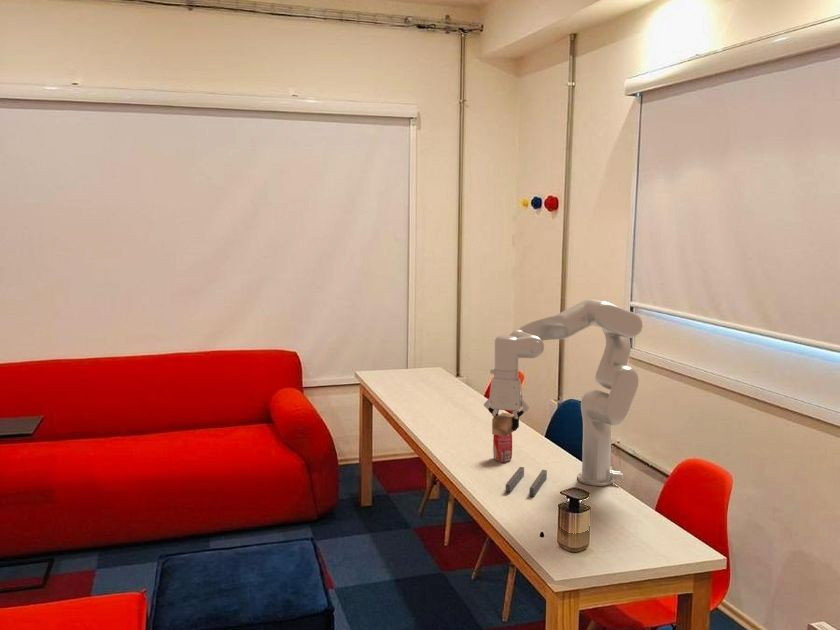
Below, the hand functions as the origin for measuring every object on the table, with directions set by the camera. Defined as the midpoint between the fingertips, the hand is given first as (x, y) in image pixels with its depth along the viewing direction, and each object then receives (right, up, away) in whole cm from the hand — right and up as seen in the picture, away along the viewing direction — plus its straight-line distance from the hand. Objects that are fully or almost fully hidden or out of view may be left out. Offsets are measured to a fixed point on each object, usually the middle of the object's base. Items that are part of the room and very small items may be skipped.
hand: (506, 428), depth 243 cm
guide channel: (+8, -22, +13) cm, 27 cm away
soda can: (+3, -18, +39) cm, 43 cm away
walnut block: (-1, -1, -1) cm, 2 cm away
